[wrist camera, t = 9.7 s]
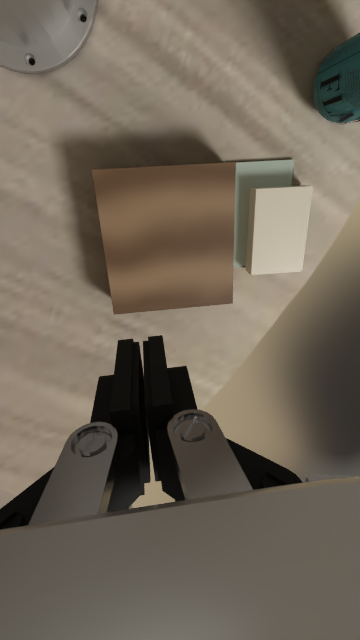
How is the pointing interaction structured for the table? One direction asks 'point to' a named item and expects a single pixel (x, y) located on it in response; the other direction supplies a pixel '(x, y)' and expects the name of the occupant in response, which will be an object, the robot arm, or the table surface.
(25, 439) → the table surface
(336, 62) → the beverage bottle
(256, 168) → the mat
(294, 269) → the cream rectangular block
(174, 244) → the flat brown wooden block
